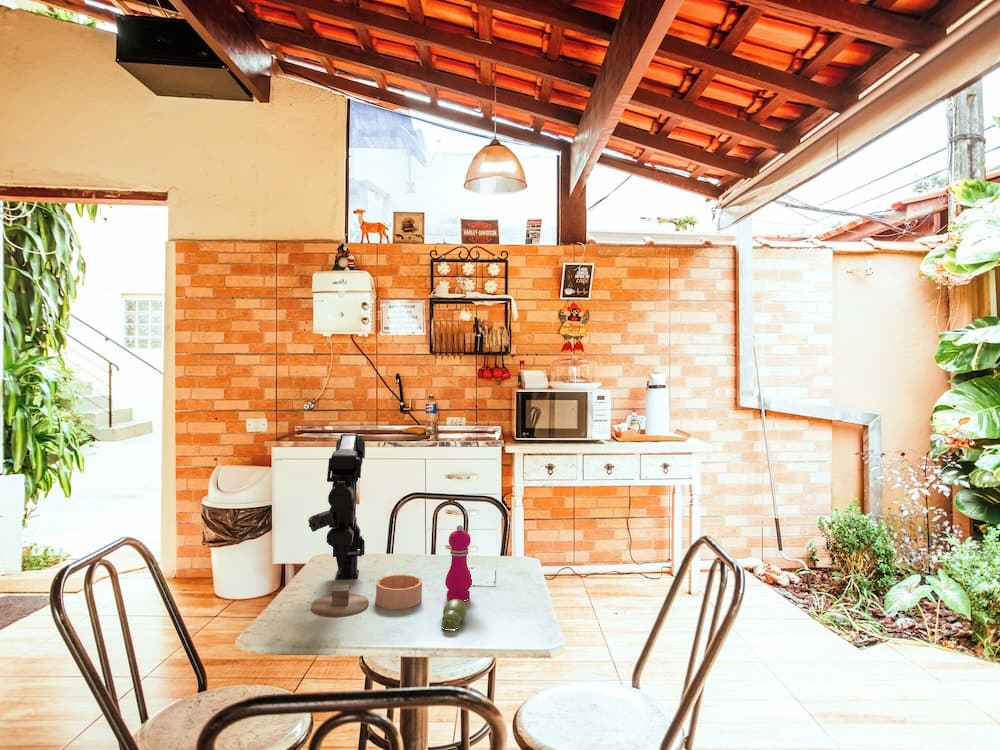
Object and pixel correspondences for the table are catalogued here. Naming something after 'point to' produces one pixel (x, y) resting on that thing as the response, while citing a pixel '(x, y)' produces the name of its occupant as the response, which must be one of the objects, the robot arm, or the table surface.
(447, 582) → the pepper mill
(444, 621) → the pear
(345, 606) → the walnut lid
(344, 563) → the robot arm
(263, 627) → the table surface
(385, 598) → the terracotta bowl
